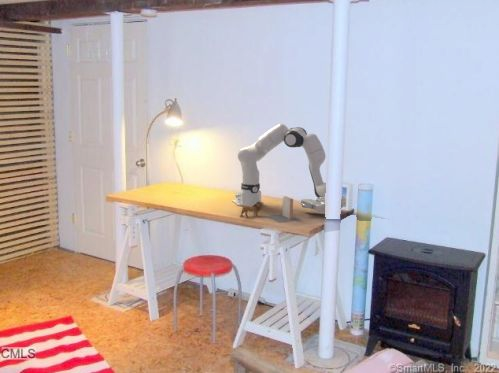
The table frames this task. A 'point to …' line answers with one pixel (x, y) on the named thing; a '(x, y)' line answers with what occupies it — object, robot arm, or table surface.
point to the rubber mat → (282, 218)
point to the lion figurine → (252, 208)
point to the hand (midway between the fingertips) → (303, 206)
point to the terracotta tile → (288, 207)
